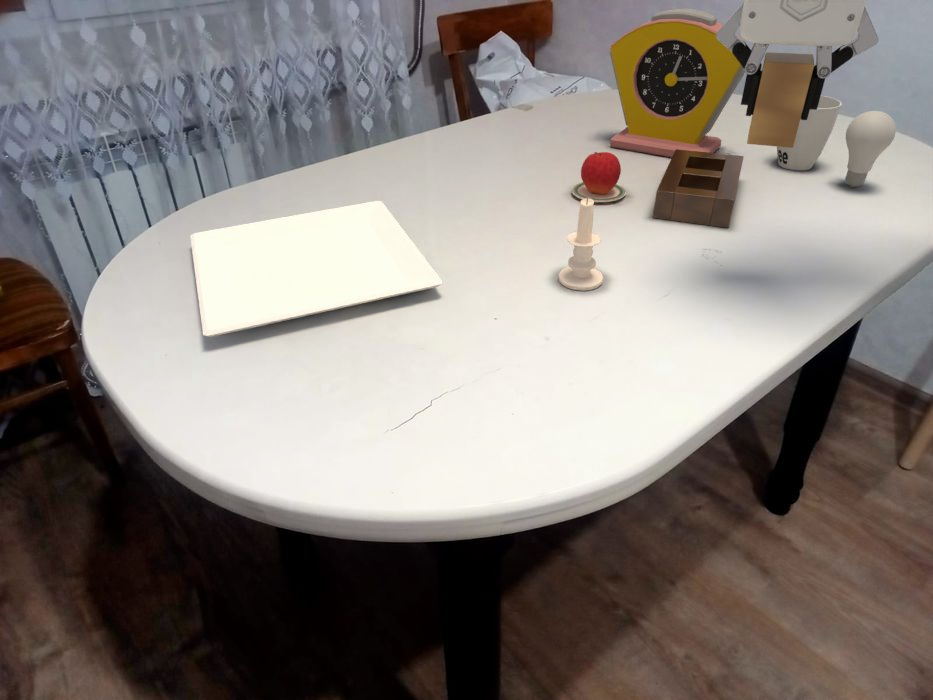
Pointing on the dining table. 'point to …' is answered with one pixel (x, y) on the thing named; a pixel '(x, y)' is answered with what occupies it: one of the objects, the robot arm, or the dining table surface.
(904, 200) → the dining table surface
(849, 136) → the lightbulb
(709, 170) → the holder
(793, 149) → the cup
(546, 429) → the dining table surface
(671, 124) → the yellow clock scale
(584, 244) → the candle
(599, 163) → the apple
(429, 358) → the dining table surface
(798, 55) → the peg
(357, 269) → the plate
